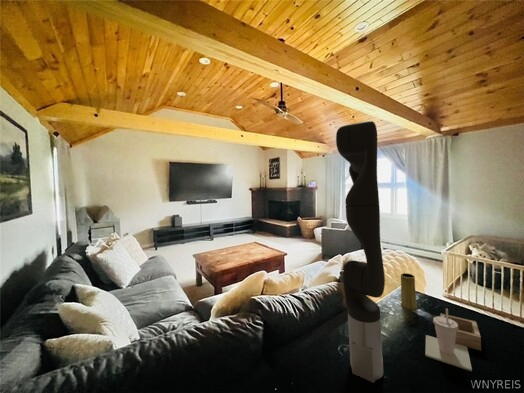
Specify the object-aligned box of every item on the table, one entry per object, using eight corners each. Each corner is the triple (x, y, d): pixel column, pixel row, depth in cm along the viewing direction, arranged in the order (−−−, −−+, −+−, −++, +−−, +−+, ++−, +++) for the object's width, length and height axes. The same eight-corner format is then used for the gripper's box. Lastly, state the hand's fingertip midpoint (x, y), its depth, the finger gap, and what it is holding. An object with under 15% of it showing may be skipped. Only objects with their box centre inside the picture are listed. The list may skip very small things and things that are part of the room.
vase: (416, 304, 101) (415, 273, 100) (417, 311, 96) (416, 279, 95) (401, 301, 104) (399, 272, 103) (401, 308, 99) (399, 276, 98)
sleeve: (481, 350, 72) (480, 337, 72) (441, 339, 78) (441, 327, 78) (476, 333, 80) (475, 321, 80) (440, 324, 86) (440, 313, 86)
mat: (471, 371, 65) (471, 369, 65) (425, 356, 71) (425, 354, 71) (467, 348, 73) (467, 346, 73) (426, 336, 80) (425, 334, 80)
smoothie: (464, 358, 69) (463, 315, 68) (441, 357, 70) (439, 314, 69) (450, 344, 75) (449, 304, 74) (429, 342, 76) (428, 303, 75)
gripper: (359, 207, 101) (361, 241, 102) (350, 211, 90) (352, 250, 91) (377, 207, 97) (379, 243, 97) (370, 211, 86) (372, 252, 86)
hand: (366, 246), depth 94 cm, fingers open, 8 cm apart
